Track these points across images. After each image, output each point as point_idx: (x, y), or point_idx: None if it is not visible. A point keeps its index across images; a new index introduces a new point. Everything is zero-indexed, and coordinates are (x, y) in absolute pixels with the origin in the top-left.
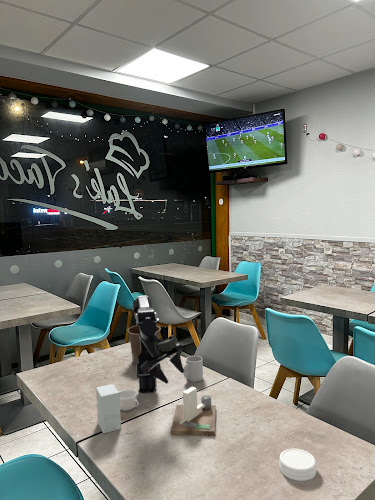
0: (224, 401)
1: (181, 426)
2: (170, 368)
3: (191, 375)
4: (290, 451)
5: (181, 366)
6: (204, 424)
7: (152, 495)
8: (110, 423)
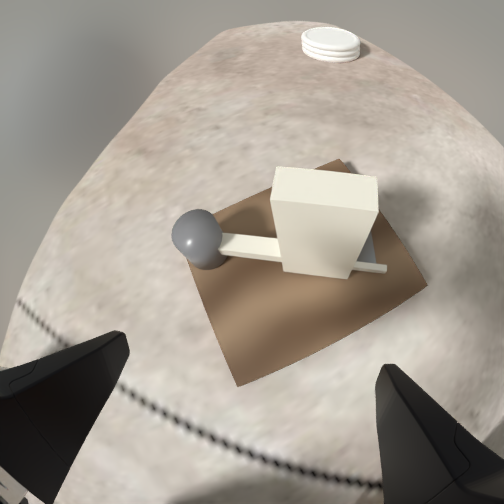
0: (125, 239)
1: (386, 264)
2: None
3: None
4: (319, 41)
5: (81, 352)
6: None
7: None
8: None
